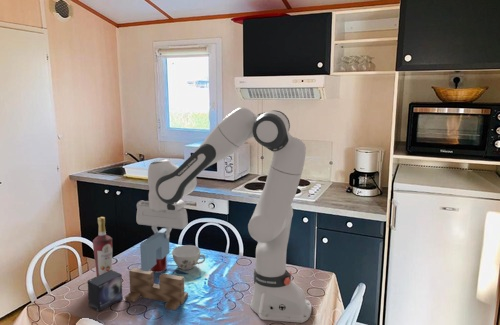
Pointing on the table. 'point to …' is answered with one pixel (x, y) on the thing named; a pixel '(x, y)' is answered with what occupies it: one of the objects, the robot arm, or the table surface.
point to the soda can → (160, 265)
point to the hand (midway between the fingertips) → (162, 237)
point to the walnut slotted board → (157, 288)
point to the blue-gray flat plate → (154, 249)
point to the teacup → (187, 256)
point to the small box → (104, 290)
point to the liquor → (102, 249)
